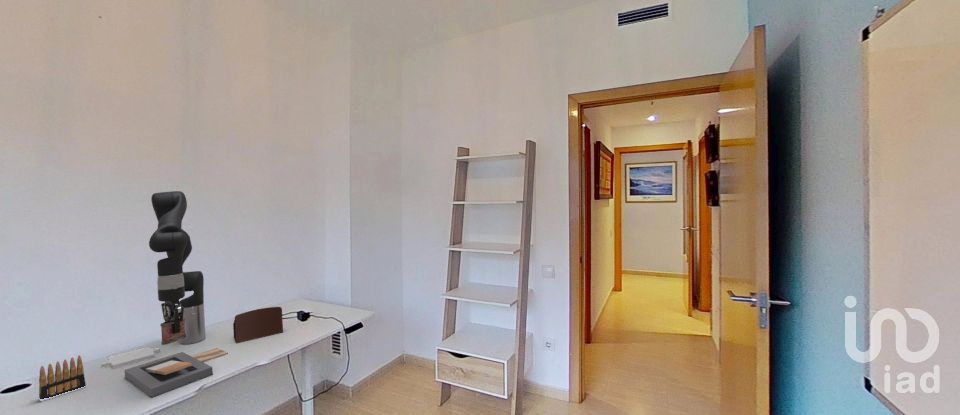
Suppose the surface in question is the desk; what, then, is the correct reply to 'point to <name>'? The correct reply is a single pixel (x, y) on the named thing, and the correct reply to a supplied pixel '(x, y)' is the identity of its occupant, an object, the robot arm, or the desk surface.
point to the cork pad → (209, 354)
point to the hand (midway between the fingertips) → (173, 331)
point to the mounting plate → (130, 357)
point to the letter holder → (258, 324)
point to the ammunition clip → (65, 384)
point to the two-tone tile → (168, 367)
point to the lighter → (167, 331)
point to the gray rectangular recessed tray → (167, 375)
